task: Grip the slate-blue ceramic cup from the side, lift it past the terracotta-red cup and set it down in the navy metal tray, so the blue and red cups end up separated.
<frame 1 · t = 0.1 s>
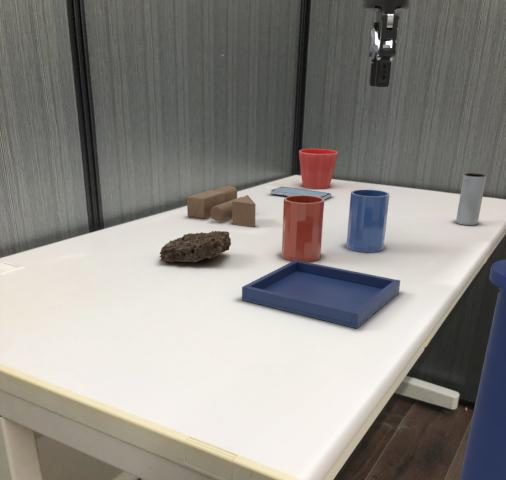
hand: (378, 86, 98), 27 cm above the table, tool pointing down, fingers open, 8 cm apart
blue cup: (364, 247, 107), on the table
dark brown rock: (196, 260, 99), on the table
smartphone: (300, 196, 150), on the table
flower pot: (316, 187, 163), on the table
grey hollow tube: (466, 223, 125), on the table
wooden block set: (238, 215, 129), on the table
blue tray: (321, 296, 83), on the table
red cup: (301, 256, 101), on the table
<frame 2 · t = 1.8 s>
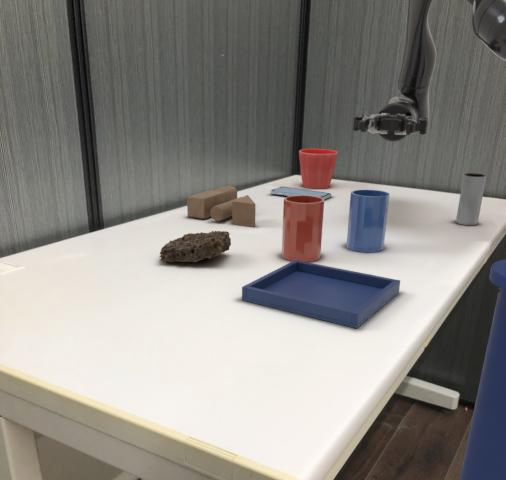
hand: (385, 127, 107), 20 cm above the table, tool horizontal, fingers open, 8 cm apart
nothing on the table moved.
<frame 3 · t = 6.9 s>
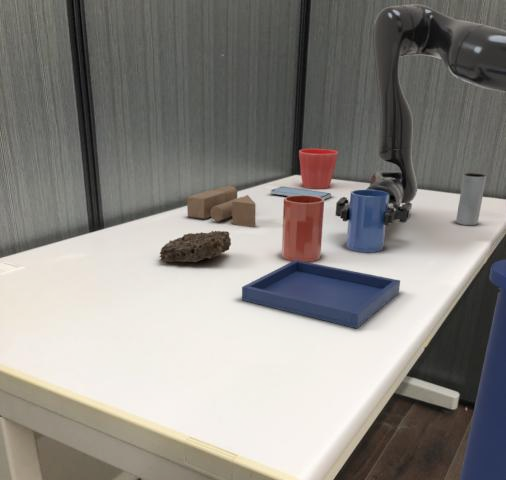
hand: (365, 217, 102), 6 cm above the table, tool horizontal, fingers closed on blue cup, 7 cm apart
blue cup: (364, 247, 107), on the table, touching gripper
everything else where it was.
when the fingers open (7 cm above the table, at t = 18.6 s): blue cup stays where it is, resting on blue tray.
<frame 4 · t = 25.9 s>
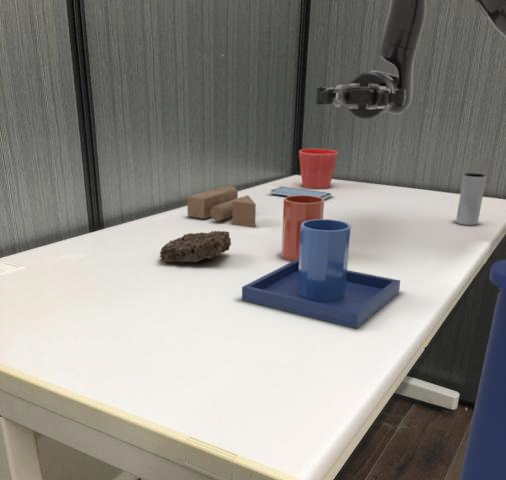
hand: (352, 97, 88), 26 cm above the table, tool horizontal, fingers open, 8 cm apart
blue cup: (321, 293, 83), resting on blue tray
everything else where it was.
at the end: blue cup inside the target area in the blue tray (0.1 cm from its centre), point 0.5 cm above the blue tray's base; blue cup tilted 0°; red cup moved 0.0 cm from its start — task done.
